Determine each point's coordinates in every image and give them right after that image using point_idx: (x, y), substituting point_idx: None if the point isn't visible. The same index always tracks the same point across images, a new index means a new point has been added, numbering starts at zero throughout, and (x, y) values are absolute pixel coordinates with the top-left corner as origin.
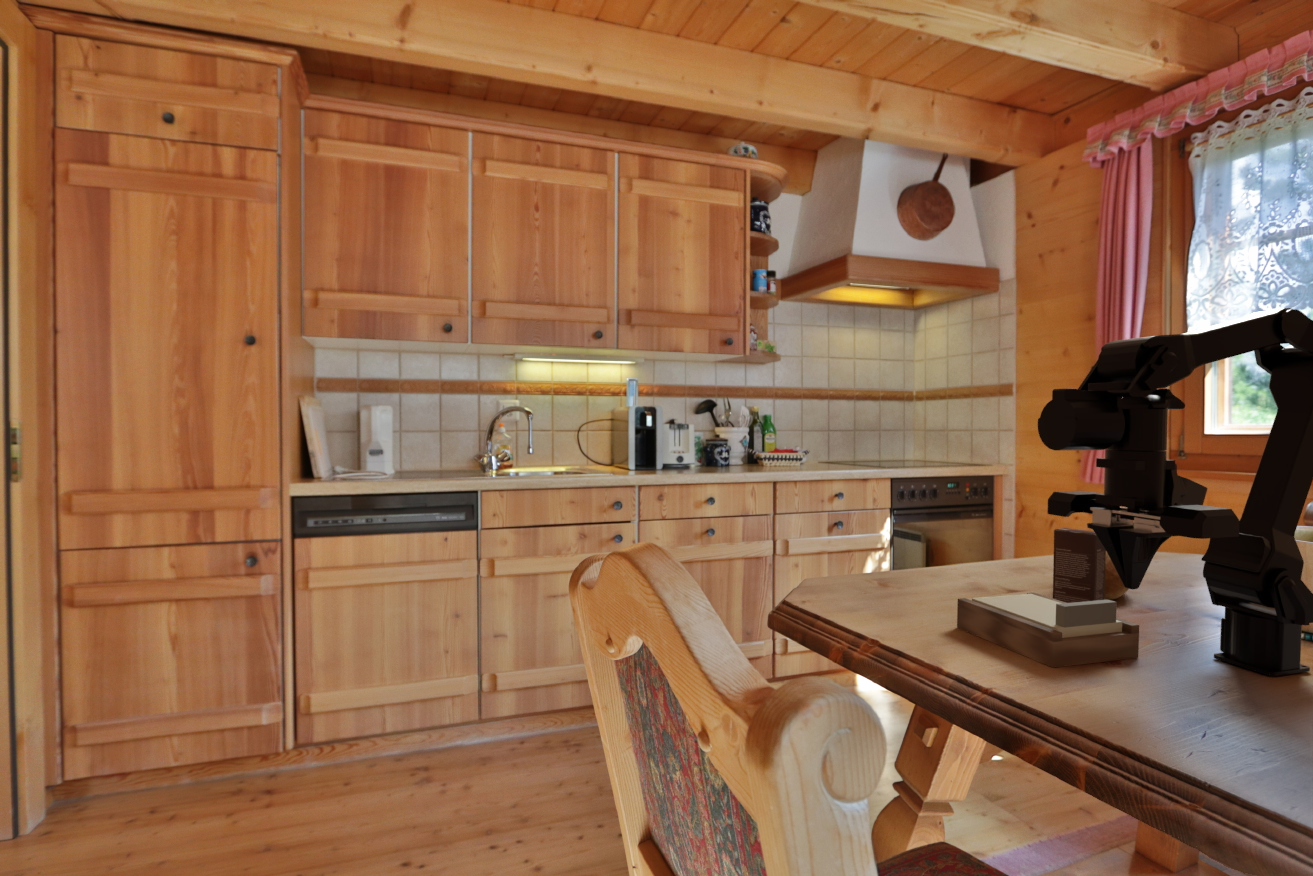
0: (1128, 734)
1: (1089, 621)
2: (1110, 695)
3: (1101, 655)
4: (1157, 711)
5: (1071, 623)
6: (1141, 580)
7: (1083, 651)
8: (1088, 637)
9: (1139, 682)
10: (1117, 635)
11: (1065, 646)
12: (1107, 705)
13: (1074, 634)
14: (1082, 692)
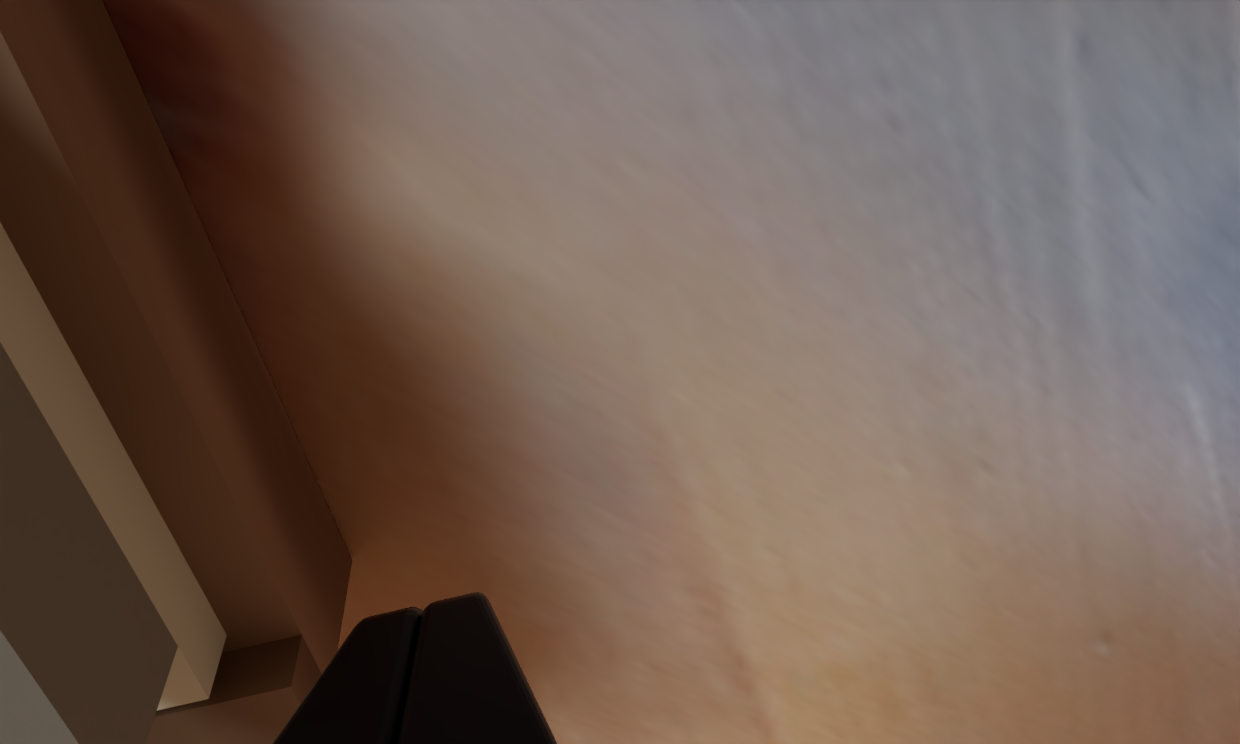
0: (1219, 661)
1: (17, 421)
2: (815, 489)
3: (163, 194)
4: (1064, 389)
5: (128, 603)
6: (518, 677)
7: (231, 392)
8: (163, 400)
9: (630, 175)
10: (19, 69)
11: (298, 578)
12: (933, 576)
13: (140, 502)
14: (753, 598)
